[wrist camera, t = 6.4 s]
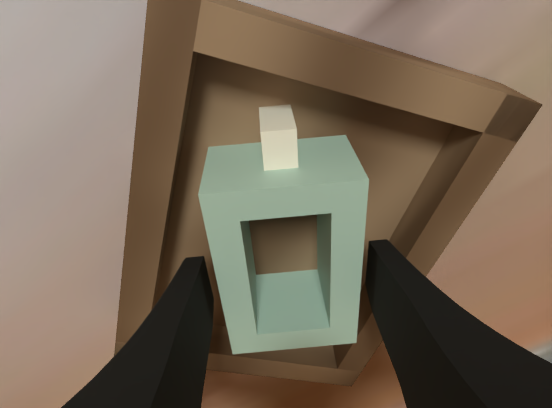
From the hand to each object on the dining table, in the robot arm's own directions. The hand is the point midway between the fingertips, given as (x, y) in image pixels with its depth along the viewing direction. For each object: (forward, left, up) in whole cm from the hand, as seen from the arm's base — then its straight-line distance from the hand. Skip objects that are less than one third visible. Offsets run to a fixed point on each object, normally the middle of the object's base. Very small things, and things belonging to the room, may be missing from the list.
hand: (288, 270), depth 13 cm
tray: (0, 0, -3) cm, 3 cm away
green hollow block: (0, 0, -2) cm, 2 cm away
